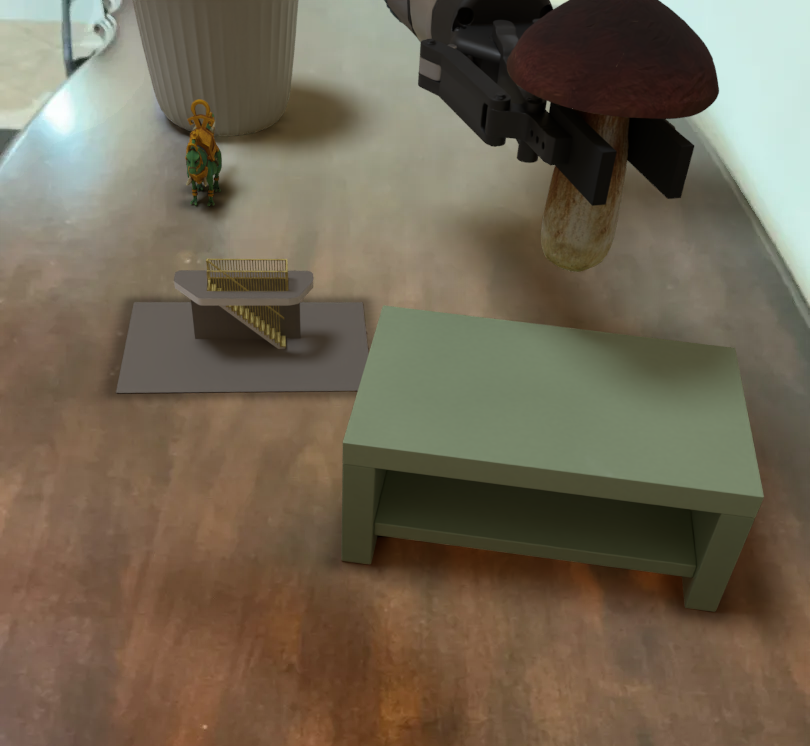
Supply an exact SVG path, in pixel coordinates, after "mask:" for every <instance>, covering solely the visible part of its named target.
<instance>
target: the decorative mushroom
mask: <svg viewBox="0 0 810 746" xmlns="http://www.w3.org/2000/svg"><path fill="white" fill-rule="evenodd" d="M715 65H716V64H715V62H714V58H713V55H712V54H711V52H710V50H709V48H708V46H707V45H706V43H705V42H704V41H703V39H702V38H701V37H700V35H698V34H697V32H696V31H695V30H694V29H693V28H692V27H691V26H690V25H689V24H688V23H687V22H686V21H685V20H684V19H683V18H682V17H680V15H678V14H677V13H676V12H675V11H674V10H673V9H672V8H670V7H669V6H668V5H666V4H665V3H663V2H662V1H661V0H567V1H564V2H563V3H561V4H560V5H558V6H556V7H555V8H553V10H552V11H550V12H549V13H547V14H546V15H545V16H543V17H542V18H541V19H539V20H538V21H537V22H535V23H534V24H533V25H531V26H530V27H529V28H528V29H527V30H526V31H525V32H524V33H523V35H522V36H521V38H520V39H519V40H518V42H517V44H516V46H515V47H514V49H513V50H512V51H511V54H510V55H509V57H508V59H507V70H508V73H509V75H510V77H511V78H512V80H513V81H514V82H515V83H516V84H517V85H518V86H519V87H521V88H522V89H524V90H525V91H527V92H529V93H531V94H533V95H535V96H537V97H539V98H542V99H544V100H546V101H547V102H549V103H550V102H552V103H555V104H558V105H561V106H565V107H568V108H572V109H573V110H574V111H575V112H576V113H577V114H578V115H579V116H580V117H581V118H582V119H583V120H584V121H586V122H587V123H588V124H589V125H590V126H591V127H592V128H593V129H594V130H595V131H596V132H597V133H598V134H599V135H600V136H601V137H602V138H603V139H604V140H605V141H606V142H607V143H609V144H610V145H611V146H612V147H613V148H614V149H615V150H616V151H617V153H616V158H615V163H614V168H613V172H612V177H611V182H610V187H609V191H608V196H607V201H606V205H595V206H592V205H591V204H590V203H589V202H588V201H587V200H586V198H585V197H584V196H583V195H582V194H581V193H580V192H579V191H578V190H577V189H576V188H575V187H574V185H573V184H572V183H571V182H570V181H569V180H568V179H567V178H566V177H565V176H564V175H563V174H562V172H561V171H560V170H559V169H558V168H557V167H556V166H555V165H554V168H553V172H552V176H551V178H550V179H551V180H550V184H549V188H548V192H547V196H546V200H545V206H544V211H543V215H542V219H541V220H542V221H541V230H540V244H541V248H542V252H543V254H544V257H545V259H546V260H548V261H549V262H550V263H552V264H553V265H554V266H555V267H558V268H560V269H562V270H564V271H567V272H570V273H581V272H585V271H586V270H589V269H592V268H593V267H596V266H597V265H599V264H601V263H602V262H603V261H604V259H606V257H607V256H608V254H609V251H610V250H611V247H612V245H613V241H614V238H615V235H616V229H617V225H618V221H619V215H620V211H621V205H622V198H623V193H624V187H625V180H626V173H627V165H628V161H627V158H628V147H629V144H628V131H629V120H630V118H656V119H666V120H675V119H685V118H689V117H693V116H696V115H699V114H701V113H703V112H704V111H705V110H707V109H709V108H710V107H711V106H712V105H713V104H714V103H715V101H716V100H717V99H718V96H719V94H720V87H719V86H720V85H719V79H718V74H717V68H716V66H715Z"/></svg>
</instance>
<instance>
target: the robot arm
mask: <svg viewBox="0 0 810 746" xmlns="http://www.w3.org/2000/svg"><path fill="white" fill-rule="evenodd" d="M383 1H384V2H385V4H386V8H387V9H388V10H389V13H391V14H392V16H393V17H394V18H395V19H396V20H397V21H398V22H399V23H400V24H403V25H404V26H405V27H406V28H407V29H408V30H409V31H410V33H412V34H413V35H414V36H415V38H417V40H418V41H419V43H420V45H419V62H418V76H417V77H418V79H417V86H418V87H419V88H421V89H423V90H425V91H427V92H429V93H431V94H433V95H436V96H437V97H439V98H440V99H441V100H442V101H443V102H444V103H445V104H446V105H447V106H448V107H449V108H450V110H452V111H453V113H454V114H455V115H457V116H458V118H459V119H461V121H463V123H464V124H466V126H467V127H468V128H469V129H470V130H471V131H472V132H473V133H474V134H475V135H476V136H477V137H478V138H479V139H480V140H481V141H482V142H483V143H484V144H485V145H487V146H490V147H493V148H496V147H502V146H504V145H506V142H507V139H513V140H515V141H516V143H517V144H518V145H517V146H518V147H517V151H516V152H517V153H516V159H517V160H518V161H519V162H521V163H526V164H533V163H536V162H538V161H539V158H540V160H541V161H542V162H543V163H545V164H547V165H549V166H554V167H555V166H556V167H557V168H558V169H559V170H560V171H561V172H562V174H563V175H564V176H565V177H566V178H567V179H568V180H569V181H570V182H571V183H572V184H573V185H574V187H575V188H576V189H577V190H578V191H579V192H580V193H581V194H582V195H583V196H584V197H585V198H586V200H587V201H588V202H589V203H590V204H591V205H592V206H595V205H606V201H607V196H608V191H609V187H610V182H611V177H612V172H613V168H614V163H615V158H616V153H617V151H616V150H615V149H614V148H613V147H612V146H611V145H610V144H609V143H607V142H606V141H605V140H604V139H603V138H602V137H601V136H600V135H599V134H598V133H597V132H596V131H595V130H594V129H593V128H592V127H591V126H590V125H589V124H588V123H587V122H586V121H584V120H583V119H582V118H581V117H580V116H579V115H578V114H577V113H576V112H575V111H574V110H573V109H572V108H568V107H565V106H561V105H558V104H555V103H552V102H549V103H550V104H549V109H548V111H547V110H546V109H547V103H548V101H546V100H544V99H542V98H539V97H537V96H535V95H533V94H531V93H529V92H527V91H525V90H524V89H522V88H521V87H519V86H518V85H517V84H516V83H515V82H514V81H513V80H512V78H511V77H510V75H509V73H508V70H507V59H508V57H509V55H510V54H511V51H512V50H513V49H514V47H515V46H516V44H517V42H518V40H519V39H520V38H521V36H522V35H523V33H524V32H525V31H526V30H527V29H528V28H529V27H530V26H531V25H533V24H534V23H535V22H537V21H538V20H539V19H541V18H542V17H543V16H545V15H546V14H547V13H549V12H550V11H552V10H553V9H554V7H553V4H552V2H551V0H383ZM628 144H629V147H628V158H627V163H629V164H630V165H632V166H633V168H634V169H636V170H637V171H638V172H639V173H640V174H641V175H642V176H643V177H644V178H645V179H646V180H647V181H648V182H649V183H651V185H652V186H654V187H655V189H657V190H658V192H660V193H661V194H662V195H663V196H664V197H665V198H666V199H667V200H674V199H681V198H682V195H683V191H684V186H685V183H686V180H687V177H688V172H689V169H690V165H691V161H692V157H693V154H694V150H695V144H693V142H691V141H690V140H689V139H688V138H687V137H685V136H684V135H683V134H682V133H681V132H679V131H678V130H677V129H676V126H675V125H673V124H672V123H671V122H670V121H669V120H668V119H656V118H630V120H629V131H628Z"/></svg>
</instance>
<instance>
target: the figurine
mask: <svg viewBox="0 0 810 746" xmlns="http://www.w3.org/2000/svg"><path fill="white" fill-rule="evenodd" d="M197 104H202V105H204V106H205V108H206V115H203V114H199V115H196V111H195V107H196V105H197ZM191 111H192V113H193V115H194V116H192V117H190V118H188V119H187V120H188V122H189V124H190V125H192V124H194V123H195V127H194V129H193V131H190V133H189V138H188V139H189V141H188V142H187V146H186V148H185V150H186V154H185V157H184V160H185V163H186V164H185V165H186V175H187V181H186V183H185V185H186V186H190V185H191V195H192V198H193V199H192V200H191V201H190V202H189V203H190V205H193V204H194V206H197V205H198V196H199V192H198V191H203V190H204V188H203V187H207V186H208V189H207V197H208V201H207V207H210V206H211V205H212V206H215V202H214V200H213V197H214V195H215V194H214V192H215V193H217V192H218V193H221V191H222V189H221V187H220V184H219V180H220V173H221V171H222V168H223V156H222V151H221V149H220V147H219V146H218V144H217V142H216V138H215V135H214V134H215V133H214V130H215V122H214V121H215V120H214V114H213V113H212V112H210V111H211V110H210V106H209V105H208V103H207V102H205V101H204V100H201V99H198V100H195V101H194V102H193V103H192V105H191ZM199 118H201V119H204V120H203V123H202V124H201V122H200V120H199ZM191 120H193V121H194V122H192V121H191Z"/></svg>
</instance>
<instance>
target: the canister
mask: <svg viewBox="0 0 810 746" xmlns="http://www.w3.org/2000/svg"><path fill="white" fill-rule="evenodd" d="M131 2H132V6H133V9H134V13H135V19H136V23H137V29H138V32H139V37H140V41H141V45H142V49H143V54H144V58H145V62H146V65H147V69H148V74H149V77H150V81H151V86H152V88H153V92H154V96H155V98H156V101H157V104H158V106H159V108H160V109H161V111H162V113H163V114H164V116H165V117H166V118H167V119H168V120H169V121H170V122H172V123H173V124H174V125H176V126H178V127H179V128H181V129H185V130H186V131H188V132H192V131H193V129H194V127H195V123H194V124H192V125H190V124H189V122H188V120H187V119H188V118H190V117H192V116H194V115H193V113H192V111H191V105H192V103H193V102H194V101H195V100H198V99H201V100H204V101H205V102H207V103H208V105H209V106H210V110H211V111H210V112H212V113H213V114H214V120H215V121H214V122H215V130H214V133H215V134H214V136H218V137H231V136H232V137H233V136H242V135H244V136H245V135H247V134H254V133H255V132H256V133H257V132H261V131H262V130H265V129H268V128H269V127H271V126H274V124H276V123H277V122H279V120H280V119H281V118H282V117H283V115H284V113H285V111H286V110H287V106H288V103H289V100H290V95H291V88H292V79H293V70H294V69H293V68H294V60H295V59H294V58H295V49H296V36H297V27H298V26H297V24H298V12H299V0H131ZM195 111H196V115H199V114H203V115H206V108H205V106H204V105H202V104H197V105H196V107H195ZM171 120H172V121H171ZM199 120H200V122H201V124H202V123H203V120H204V119H201V118H199ZM191 121H192V122H194V121H193V120H191Z"/></svg>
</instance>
